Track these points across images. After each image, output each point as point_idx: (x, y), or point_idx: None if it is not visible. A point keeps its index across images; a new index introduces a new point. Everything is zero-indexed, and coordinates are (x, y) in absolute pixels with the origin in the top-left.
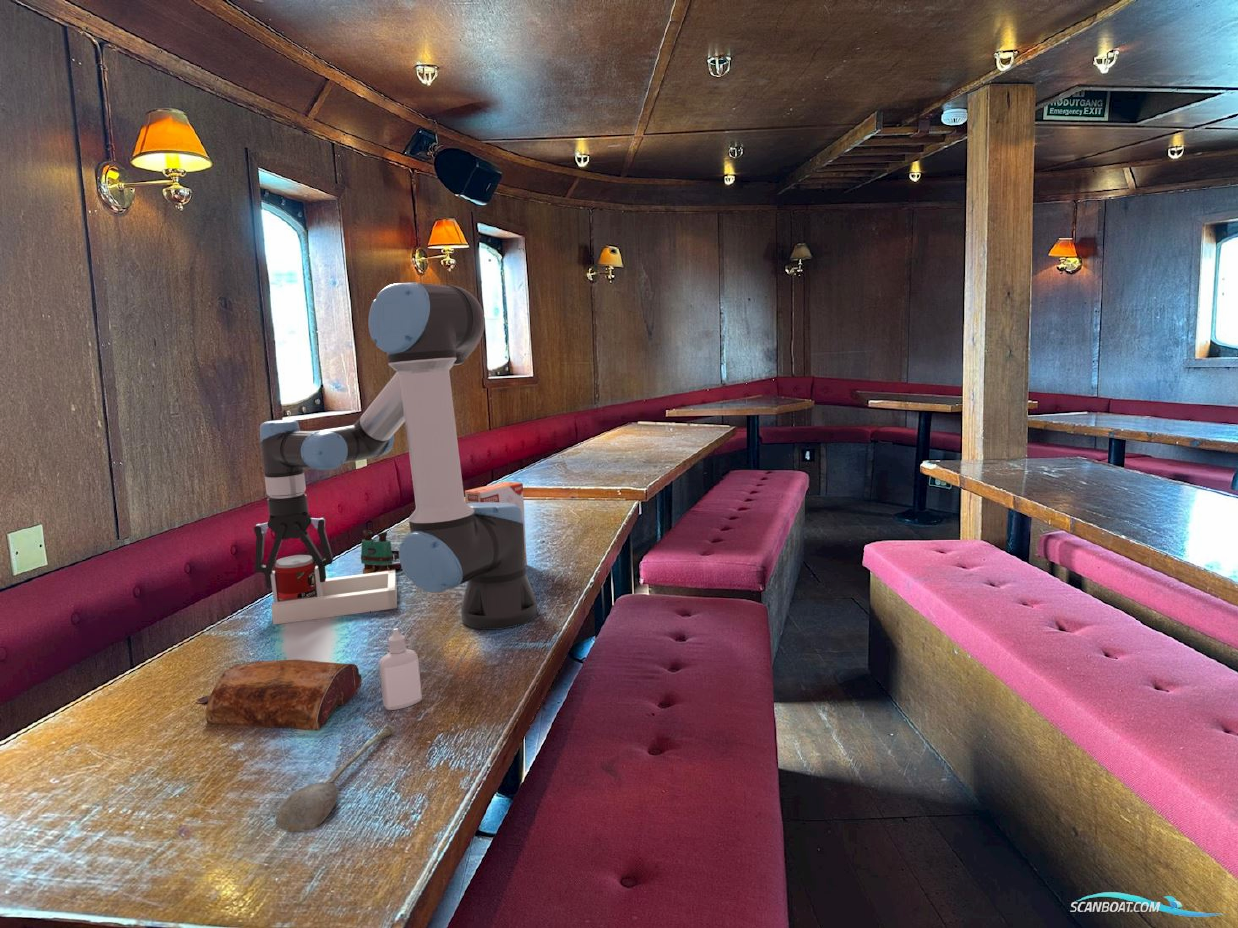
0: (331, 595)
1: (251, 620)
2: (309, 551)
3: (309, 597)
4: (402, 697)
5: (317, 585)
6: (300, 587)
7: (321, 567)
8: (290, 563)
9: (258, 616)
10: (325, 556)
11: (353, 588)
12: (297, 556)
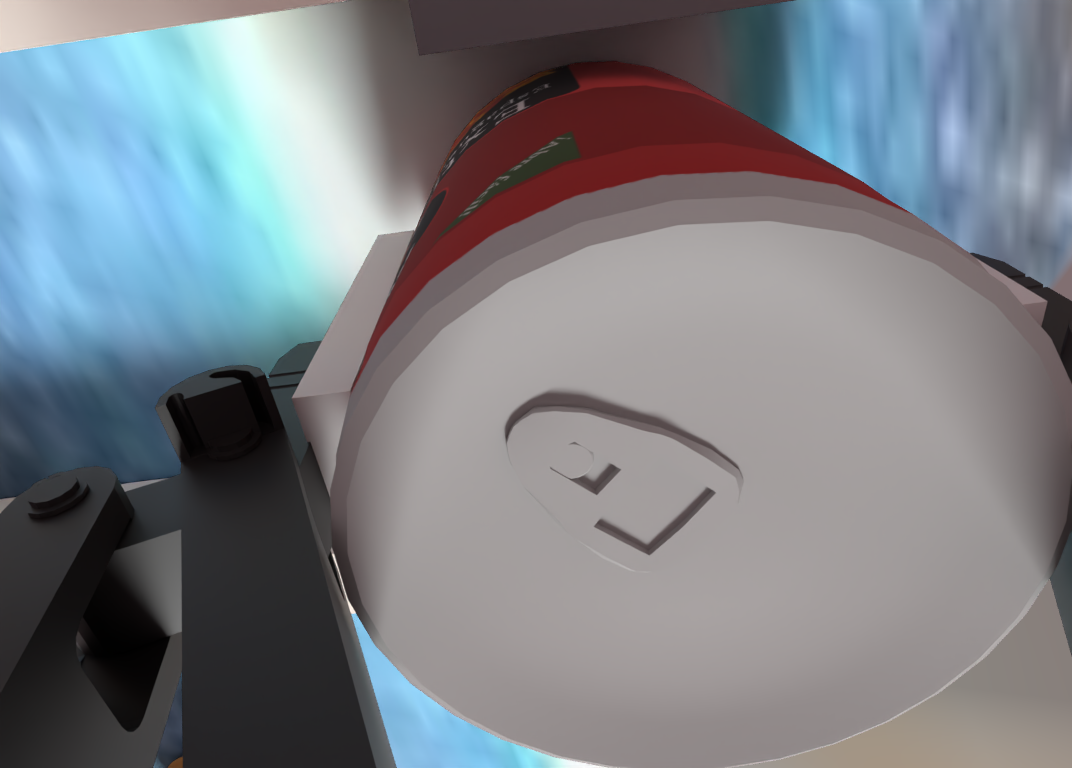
0: (128, 16)
1: (999, 49)
2: (327, 660)
3: (411, 11)
4: None
5: (378, 287)
6: (535, 115)
7: (202, 380)
8: (756, 436)
9: (938, 152)
10: (59, 571)
11: None
12: (685, 735)
